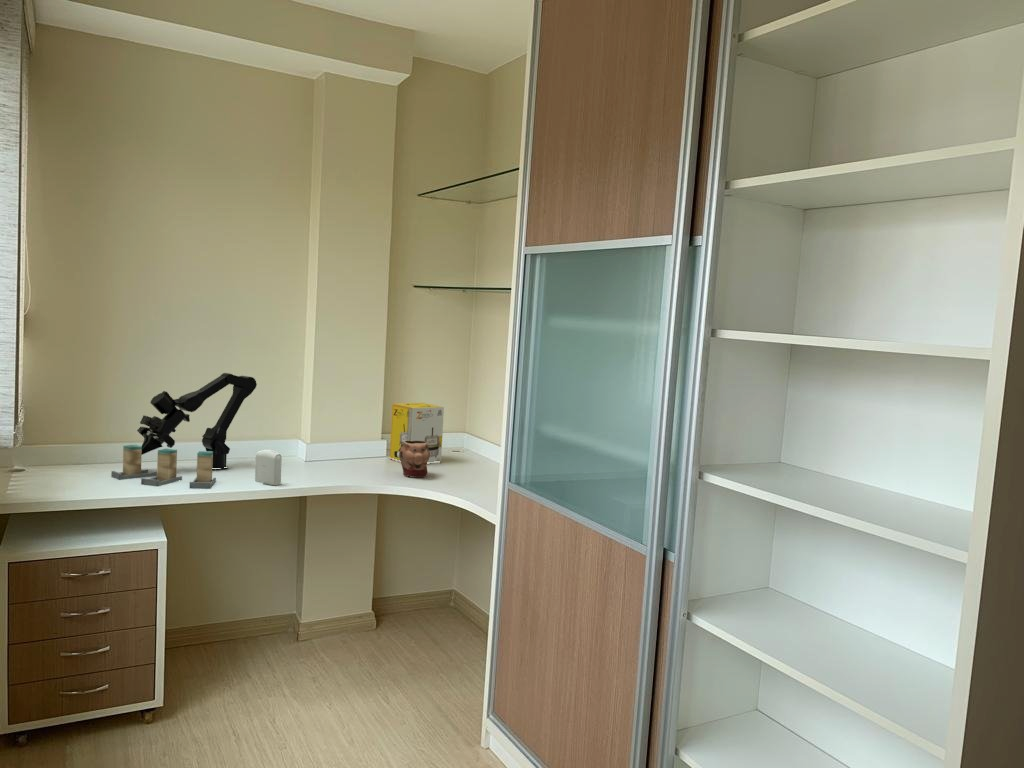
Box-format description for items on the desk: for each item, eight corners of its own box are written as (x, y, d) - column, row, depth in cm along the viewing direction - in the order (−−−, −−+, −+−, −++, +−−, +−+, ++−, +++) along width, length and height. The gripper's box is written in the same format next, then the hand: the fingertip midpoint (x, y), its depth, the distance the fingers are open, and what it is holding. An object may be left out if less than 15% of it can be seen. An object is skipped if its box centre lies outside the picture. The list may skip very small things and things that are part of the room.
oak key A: (135, 474, 298) (135, 444, 297) (141, 476, 295) (141, 446, 294) (122, 475, 294) (123, 445, 293) (128, 478, 291) (129, 447, 291)
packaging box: (410, 466, 350) (413, 407, 348) (389, 459, 362) (392, 403, 360) (440, 463, 360) (443, 407, 359) (419, 457, 373) (422, 402, 371)
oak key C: (198, 481, 292) (199, 451, 292) (211, 481, 293) (212, 451, 292) (196, 484, 288) (197, 453, 287) (209, 484, 289) (210, 453, 288)
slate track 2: (165, 479, 296) (165, 472, 295) (182, 481, 294) (182, 474, 294) (141, 485, 283) (141, 478, 283) (158, 487, 281) (158, 480, 281)
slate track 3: (196, 481, 294) (196, 475, 294) (215, 482, 295) (216, 475, 295) (189, 489, 281) (189, 482, 281) (210, 490, 283) (210, 482, 282)
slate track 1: (147, 474, 302) (147, 467, 302) (156, 477, 298) (156, 470, 298) (111, 477, 292) (111, 470, 292) (119, 481, 288) (120, 474, 288)
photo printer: (252, 482, 299) (254, 449, 298) (261, 480, 303) (262, 447, 302) (274, 486, 294) (275, 452, 293) (282, 484, 298) (283, 451, 297)
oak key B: (165, 478, 294) (166, 448, 293) (176, 480, 293) (177, 449, 292) (157, 481, 289) (157, 450, 288) (168, 482, 288) (168, 451, 287)
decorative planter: (391, 470, 337) (393, 437, 336) (420, 470, 342) (422, 437, 341) (406, 480, 319) (407, 445, 318) (435, 479, 324) (437, 444, 323)
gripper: (143, 405, 305) (112, 436, 297) (167, 410, 293) (136, 443, 285) (163, 424, 311) (133, 455, 304) (187, 431, 299) (157, 463, 292)
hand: (139, 454), depth 296 cm, fingers closed, pressing on oak key A
